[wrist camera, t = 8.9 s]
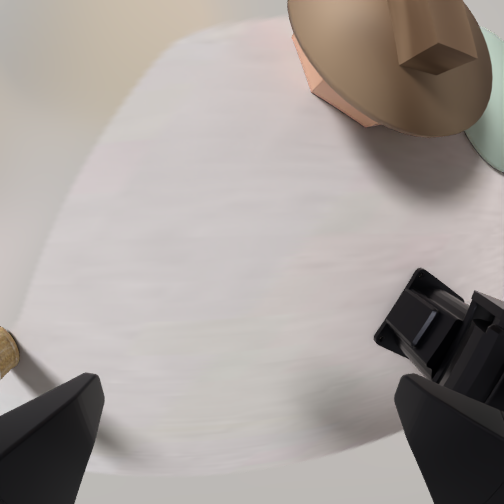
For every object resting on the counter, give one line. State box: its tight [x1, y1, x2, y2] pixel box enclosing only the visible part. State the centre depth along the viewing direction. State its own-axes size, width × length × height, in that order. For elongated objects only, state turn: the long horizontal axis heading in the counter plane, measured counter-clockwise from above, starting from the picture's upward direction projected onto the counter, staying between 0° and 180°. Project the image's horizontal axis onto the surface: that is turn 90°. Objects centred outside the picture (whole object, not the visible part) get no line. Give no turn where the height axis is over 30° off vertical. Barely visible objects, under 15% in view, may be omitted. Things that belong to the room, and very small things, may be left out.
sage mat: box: [465, 26, 504, 172], centre depth 17 cm, size 14×14×1 cm
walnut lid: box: [287, 0, 493, 138], centre depth 10 cm, size 13×13×4 cm
